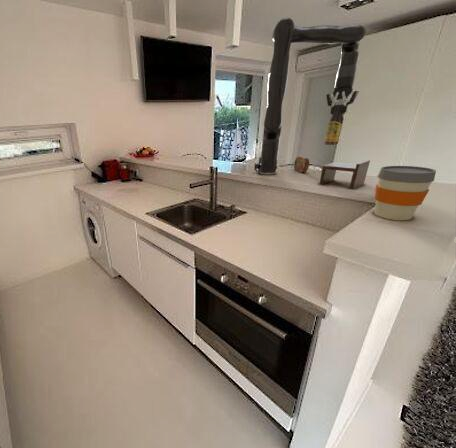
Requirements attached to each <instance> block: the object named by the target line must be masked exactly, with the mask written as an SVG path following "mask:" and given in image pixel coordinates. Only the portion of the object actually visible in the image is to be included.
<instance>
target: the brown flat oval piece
mask: <svg viewBox="0 0 456 448" xmlns="http://www.w3.org/2000/svg"><path fill="white" fill-rule="evenodd" d="M293 166H294V167H293V169H294V170H295V171H297V172H298V173H307V171H308V170H309V167H310V159H309V158H308V157H304V156H300V155H299V156H297V157H296V158H295V160H294V164H293Z"/></svg>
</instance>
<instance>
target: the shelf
mask: <svg viewBox="0 0 456 448" xmlns="http://www.w3.org/2000/svg"><path fill="white" fill-rule="evenodd" d="M370 162H371V160H370V159H367V160H364V161H361V162H358V163H350V162H338V161H337V162H336V161H334V162H330V163H326V164H324V165H322V167H321V173H320V179H319V184H318V185H325V184H329V183H332V182H333V181H335V177H336V173H337V172H336V171H338V172H339V171H340V172H348V173H349V172H351V173H352V176H351V180H350V184H349V189H350V190H354V189H357V188H358V187H360V186H363V185H365V181H366V177H367V174H368V169H369V167H370Z"/></svg>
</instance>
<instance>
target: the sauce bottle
mask: <svg viewBox="0 0 456 448" xmlns="http://www.w3.org/2000/svg"><path fill="white" fill-rule="evenodd" d="M343 106H344V104H343V103H340V104H336V105H335V110H334V114H333V115H331V117H330V119H329V121H328V124H327V129H326V134H325V138H324V145H327V146H334V145H338V143H339V141H340V137H341V133H342V129H343V124H344V115H343V114H341V113H342V109H343Z"/></svg>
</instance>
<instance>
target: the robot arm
mask: <svg viewBox="0 0 456 448" xmlns="http://www.w3.org/2000/svg"><path fill="white" fill-rule="evenodd" d="M366 34H367V29H366V26H364V25H362V24H346V25H332V24H323V25H322V24H321V25H314V26H297V25H295V22H294V20H293V19H292V18H291V17H283V18H281V19H280V20H279V21H278V22H277V23H276V24H275V26H274V28H273V31H272V35H271V37H272V41H273V54H272V60H271V63H270V67H269V73H268V79H267V80H268V81H267V104H266V105H267V106H266V110H265V117H264V120H263V135H262V142H261V151H260V157H259V158H258V162H255V163H254V171H255V172H256V173H258V174H260V175H267V176H270V175H275V174H277V170H278V159H279V150H280V143H281V133H282V125H283V118H282V114H283V102H284V98H285V95H286V90H287V85H288V78H289V68H290V51H291V46H292V44H296V43H309V44H311V43H312V44H322V45H323V44H324V45H334V44H341V49H340V51H341V52H340V54H341V55H340V60H339V65H338V69H337V73H336V76H335V83H334V89H333V91H332V92H331V93H327V94H326V96H325V97H326V102H327V106H328V107H330V114H331V116H333V114H334V110H335V105H338V102H339V101H340V100H342V102H343V103H342V104H344V106H343V109H342V113H341V114H342V115H345V114H346V113H347V111H348V106H350V105H352V104H353V103H354V102H355V100H356V98H357V97H358V95H359V93H360V91H359V90H354V88H353V87H354V82H355V78H356V73H357V66H358V62H359V57H360V51H358V49H359V43H360V42H361V41H362V40H364V38H365V36H366ZM350 95H351V96H350ZM333 97H334V98H333ZM349 97H350V98H349ZM332 99H333V100H332Z"/></svg>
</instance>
